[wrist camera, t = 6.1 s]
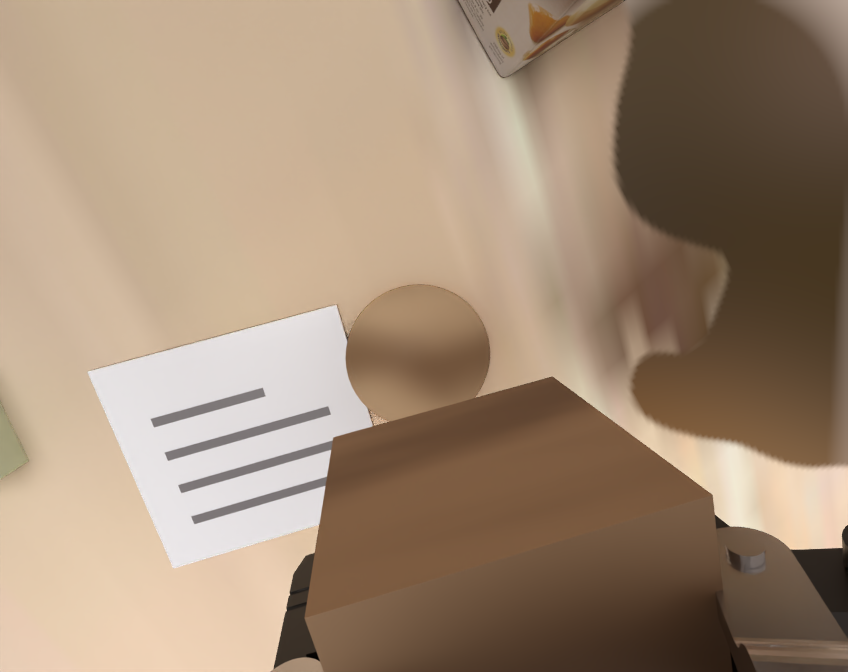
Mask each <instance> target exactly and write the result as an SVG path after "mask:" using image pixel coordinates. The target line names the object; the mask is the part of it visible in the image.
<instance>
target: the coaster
mask: <svg viewBox="0 0 848 672" xmlns="http://www.w3.org/2000/svg"><path fill="white" fill-rule="evenodd" d="M347 348H348V349H347ZM345 360H346V369H347V374H348V378H349V380H350V383H351V386H352V388H353V390H354V391H355V393H356V395H357V396H358V398H359V399H360V400H361V402H362V403H363V404H364V405H365V406H366V407H367V408H368V409H369V410H371V411H372V412H373V413H375V414H376V415H378V416H379V417H381V418H383V419H385V420H387V421H394V420H398V419H401V418H405V417H408V416H412V415H416V414H419V413H423V412H426V411H430V410H434V409H437V408H441V407H444V406H448V405H452V404H455V403H459V402H462V401H466V400H470V399H473V398H475V396H476V395H477V393H478V392H479V391H480V389H481V387H482V385H483V383H484V380H485V378H486V375H487V372H488V367H489V360H490V347H489V340H488V336H487V333H486V330H485V327H484V325H483V323H482V321H481V319H480V318H479V316H478V315H477V313H476V312H475V311H474V310H473V308H472V307H471V306H470V305H469V304H467V303H466V302H465V301H464V300H463V299H461V298H460V297H458V296H457V295H455V294H453V293H451V292H449V291H447V290H445V289H442V288H439V287H435V286H430V285H408V286H403V287H399V288H396V289H393V290H390V291H388V292H386V293H384V294H382V295H381V296H379V297H378V298H376V299H375V300H373V301H372V302H371V303H370V304H369V305H368V306H367V307H366V308H365V309H364V310H363V311H362V312H361V313H360V315H359V316H358V318H357V319H356V321H355V323H354V325H353V327H352V329H351V331H350V334H349V337H348V341H347V347H346V358H345ZM351 368H352V369H351ZM350 377H351V378H350Z"/></svg>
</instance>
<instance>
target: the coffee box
mask: <svg viewBox="0 0 848 672" xmlns="http://www.w3.org/2000/svg"><path fill="white" fill-rule="evenodd" d="M458 1H459V3H460V5H461V6H462V8H463V10H464V12H465V14H466V16H467V18H468V19H469V21H470V23H471V25H472V27H473V29H474V30H475V32H476V34H477V36H478V38H479V40H480V41H481V43H482V45H483V47H484V48H485V50H486V52H487V54H488V56H489V57H490V59H491V61H492V63H493V65H494V66H495V68H496V70H497V72H498V73H499V74H500V75H501V76H502V77H508V76H509V75H511V74H512V73H514V72H515V71H517V70H519V69H520V68H522V67H523V66H525V65H526V64H528V63H529V62H531V61H533V60H534V59H536V58H537V57H539V56H540V55H542V54H543V53H545V52H546V51H548V50H549V49H551V48H552V47H554V46H556V45H557V44H559V43H560V42H562V41H563V40H565V39H566V38H568V37H569V36H571V35H572V34H574V33H576V32H577V31H579V30H580V29H582V28H583V27H585V26H586V25H588V24H590V23H591V22H593V21H594V20H596V19H597V18H599V17H600V16H602V15H604V14H605V13H607V12H608V11H610V10H611V9H613V8H614V7H616V6H618V5H619V4H621V3H622V2H624V1H625V0H458Z"/></svg>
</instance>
